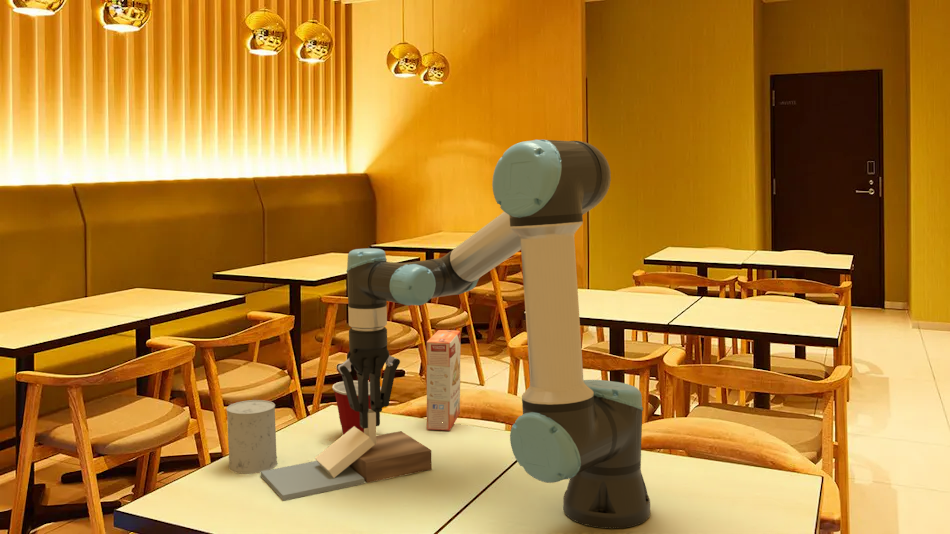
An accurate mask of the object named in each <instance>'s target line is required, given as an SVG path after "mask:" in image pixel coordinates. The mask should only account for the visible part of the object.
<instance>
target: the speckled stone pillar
mask: <svg viewBox="0 0 950 534" xmlns="http://www.w3.org/2000/svg"><path fill="white" fill-rule="evenodd" d="M226 418H227V420H226V423H227V441H228V443H227V444H228V463H229V464H228V469H229V471H231V472H233V473H236V474H244V475H247V474H249V475H250V474H258V473H259V474H261V471H266V470H271V469H275V467H276V466H277V465H278V460H277V457H278V456H277V438H276V437H277V434H276V404H275V403H274V402H273V401H271V400H263V399H252V400H249V399H248V400H243V401H237V402H235V403H231V404H229V405H228V406H227V407H226Z"/></svg>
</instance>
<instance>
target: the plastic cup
mask: <svg viewBox="0 0 950 534" xmlns="http://www.w3.org/2000/svg"><path fill="white" fill-rule="evenodd" d="M353 382H354V386H355V390H356V394H357V397H358V380H353ZM332 390H333V392H334V397H335V401H336V406H337V410H338V411H337V412H338V417H339V422H340V426H341V429H342V435H344V434H345V433H346V432H347V431H349V430H350V429H351V428H352V427H354V426H355V427H356V428H357V429H359V430H360V431H362V432H363V433H364V429H363V428H362V427H361V426H360V413H359V412H357V411H355V410H353V409H352V408H350V404H349V401H348V397H347V393H346V390H345V386H344V382H343V380H342V381H339V382H336V383H334V384H333V385H332ZM380 391H381V386H380ZM368 397H369V409H371V406H370V381H368Z"/></svg>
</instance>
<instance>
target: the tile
mask: <svg viewBox="0 0 950 534" xmlns="http://www.w3.org/2000/svg"><path fill="white" fill-rule="evenodd" d="M374 445H375V444H374V443H373V441H372V440H371V438H370V437H369V436H367V435H366V434H365V433H363V432H362V431H360V430H359V429H357V428H356V427H355V426H354V427H352V428H351V429H350V430H349V431H347V432H346V433H345V434H344V435H343V434H342V435H341V436H340V437H339V438H338V439H336V440H335V441H333V443H331V444H329V446H327V447H326V448H324V450H322V451H321V452H320V453H319V454H317V455H316V456H314V461H317V462H318V464H319V465H320V466H321V467H322V468H323V469H324V470H325V471H327V472H328V473H329V474H330V475H331V476H332V477H333V478H335V477H336V476H337V475H338V474H340V473H341V472H342V471H343V470H344V469H346V468H347V467H348V466H349V465H351V464H352V463H353V462H354V461H355V460H357V459H358V458H359V457H360V456H362V455H363V454H364V453H365V452H366V451H368V450H369V449H370V448H371V447H372V446H374Z"/></svg>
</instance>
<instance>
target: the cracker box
mask: <svg viewBox="0 0 950 534" xmlns="http://www.w3.org/2000/svg"><path fill="white" fill-rule="evenodd" d="M461 345H462V343H461V330H454V329H453V330H452V329H451V330H449V329H442V330H441V329H439V330H437V331H436V332H435V333H434V334H433V335H432V336H431V337H430V338H429V339H428V340H427V341H426V430H433V431H447V432H449V431H451V429H452V428H453V426H454V424H455V423H456V421H457V420H458V417H459V416H460V414H461ZM442 422H443V423H442Z"/></svg>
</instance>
